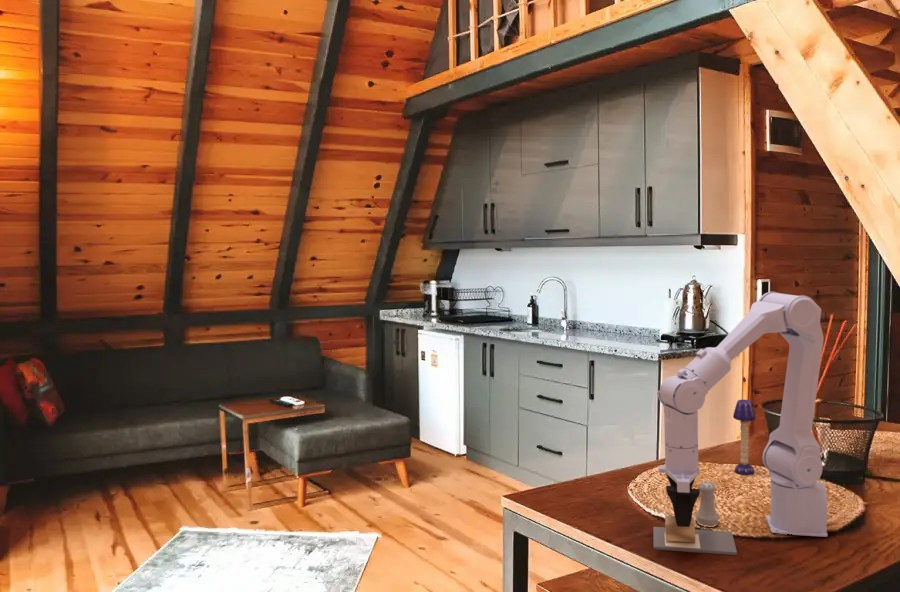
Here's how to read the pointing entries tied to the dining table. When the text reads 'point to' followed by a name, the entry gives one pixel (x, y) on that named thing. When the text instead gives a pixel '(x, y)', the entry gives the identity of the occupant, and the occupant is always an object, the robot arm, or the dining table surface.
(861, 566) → the dining table surface
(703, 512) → the rook chess piece
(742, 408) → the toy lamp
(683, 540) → the oak block
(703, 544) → the slate board
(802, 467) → the robot arm
